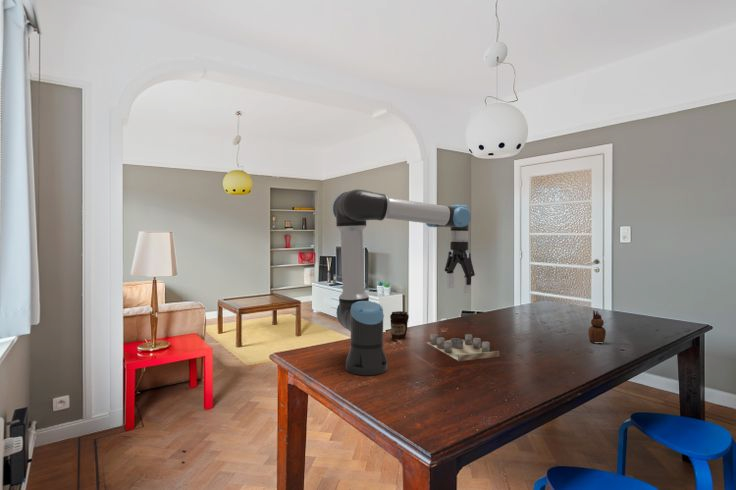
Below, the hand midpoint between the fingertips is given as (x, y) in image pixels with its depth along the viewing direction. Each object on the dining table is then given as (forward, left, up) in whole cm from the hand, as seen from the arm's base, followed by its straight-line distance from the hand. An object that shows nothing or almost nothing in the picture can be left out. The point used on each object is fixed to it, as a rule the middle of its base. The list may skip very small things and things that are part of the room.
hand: (458, 290), depth 174 cm
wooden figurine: (+63, -15, -25) cm, 69 cm away
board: (-4, -9, -24) cm, 26 cm away
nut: (-4, -6, -23) cm, 24 cm away
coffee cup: (-21, +15, -25) cm, 36 cm away
